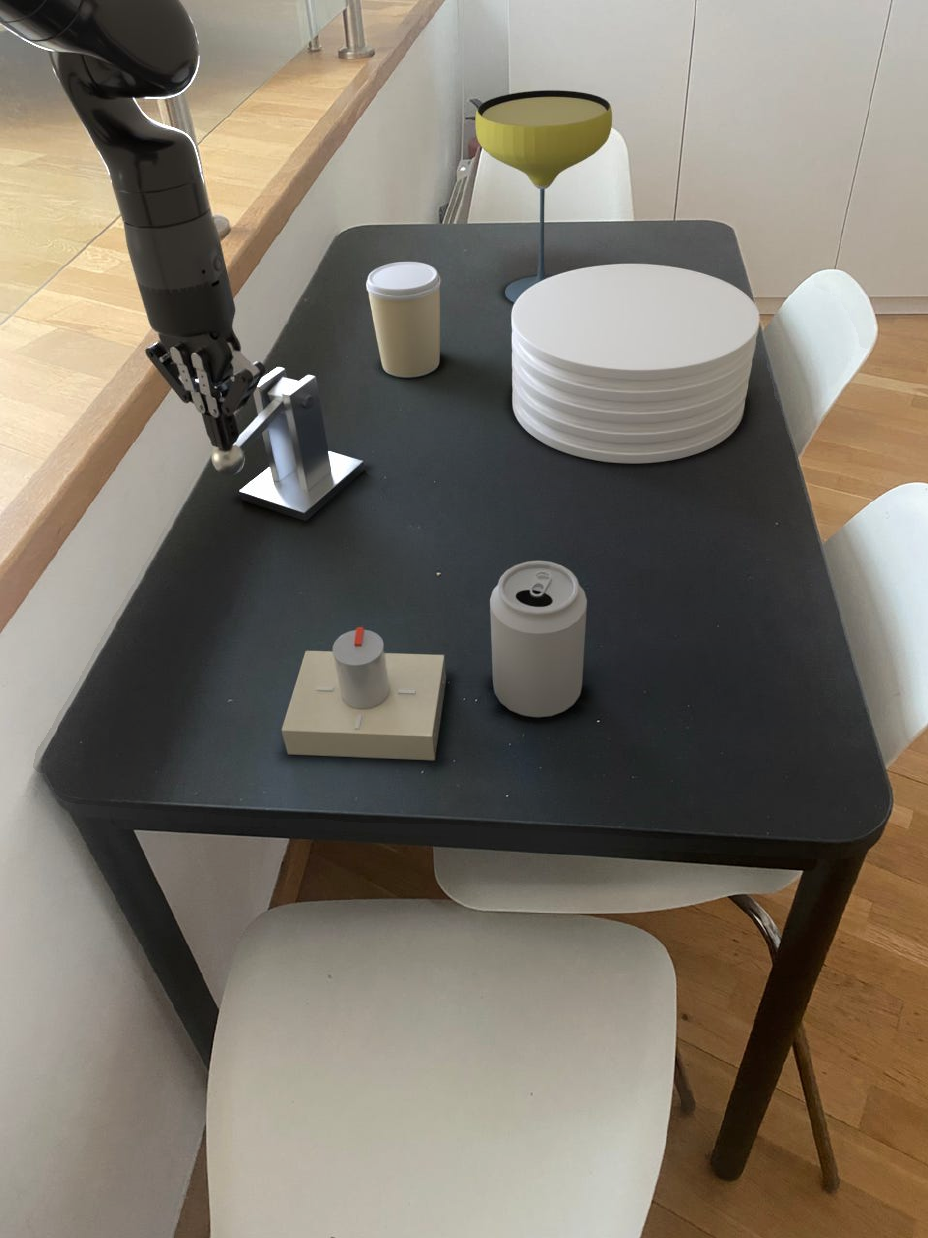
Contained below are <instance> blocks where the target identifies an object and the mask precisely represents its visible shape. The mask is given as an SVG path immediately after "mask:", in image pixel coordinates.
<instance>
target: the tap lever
mask: <svg viewBox="0 0 928 1238" xmlns="http://www.w3.org/2000/svg"><path fill="white" fill-rule="evenodd" d="M299 381H300V380H296V379H292V378H288V377H287V378H285V377H282V378H281V380H280V381H279V382H278V383H277V384H276V385H275V386H274V387H273V388H272V389H271V390H270V391H269V392H268V396H269V399H270V401H271V403H270V404H269V405H268V406H267V407H266V408H265V409H264V410H263V411H262V412H261V413H260V415H259V416H258V415H257V416H256V417H255V418H254V420H253V421H252V422H251V423H250V424H249V425H248V426H247V427H246V428H245V429H244V430H243V431H242V432H241V433H240V434H239V438H238V439H237V441H236V443H234V444H233V445H232V446H230V447H229V448H227V449H222V448H218V447H215V446H214V449H213V450H212V453H211V457H210V458H211V463H212V466H213V467H214V469H215V471H217V472H218V473H220V474H221V475H226V476H232V475H235V474H238V473H239V472H241V470H242V469H243V468H244V465H245V463H246V456H245V452H246V451H248V449H249V448H250V447H251V446H252V445H253V444H254V443H255V442H256V441H257V440H258V439H259V438H260V436H262V433H263V432H264V431H265V430H266V429H267V428H268V427H269V425H270V424H271V423H272V422H273V421H274V420H275V419H276V418H277V417H278V416H279V415H280V414H281V413H282V414H286V411H285V406H284V401H283V396H282V393H283V392H285V391H286V390H288V389H289V388H290V387H292V386H293V385H295V384H296V383H297V382H299Z"/></svg>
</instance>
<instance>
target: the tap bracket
mask: <svg viewBox="0 0 928 1238" xmlns="http://www.w3.org/2000/svg"><path fill="white" fill-rule="evenodd" d="M286 371H287V370H286V368H285V367H281V366H277V367H276V368H274V369H273V370H271V371H270V372H269V373H267V374H264V375H263V377H262V379H261V380H260V382H259V384H258V386H257V388H256V390H255V391H254V393H253V395H252V396H253V399H254V403H255V408H256V412H257V417H258V416H259V415H260V413H261V412H262V411H263V410H264V409H265V408H266V407H267V406H268V405H269V404H270V403H271V401H270V399H269V396H268V392H269V391H270V390H271V389H272V388H273V387H274V386H275V385H276V384H277V383H278V382H279V381H280V380H281V378H282V377H285V378H288V376H287V372H286ZM298 381H299V382H297V383H296V384H295V385H293V386H292V387H290V388H289V389H288V390H286V391H285V392H283V393H282V396H283V401H284V406H285V411H286V414H282V413H281V414H280V415H279V416H278V417H277V418H276V419H275V420H274V421H273V422H272V423H271V424H270V425H269V427H268V428H267V429H266V430H265V431H264V432H263V433H262V434H261V436H262V440H263V443H264V448H265V453H266V457H267V462H268V467H267V468H266V469H265V470H264V471H263V472H261V473H260V474H259V475H257V476H256V477H255V478H254V479H252V480H250V481H249V482H248V483H247V484H246V485H245V486H243V487H242V488H241V489H239V491H238V492H239V496H240V500H241V501H244V502H247V503H250V504H253V505H256V506H259V507H261V508H265V509H268V510H271V511H273V512H277V513H279V514H282V515H284V516H285V515H286V516H289V517H291V518H294V519H297V520H301V521H304V522H307V521H309V519H311V518H313V516H314V515H316V513H318V512H319V511H320V510H321V509H322V508H323V507H324V506H326V505H327V504H328V503H329V502H330V501H331V500H333V499H334V498H335V496H337V495H338V494H339V493H341V491H343V490H344V489H345V488H346V487H347V486H348V485H350V483H352V482H353V481H354V480H355V479H356V478H357V477H359V476H360V475H361V474H362V473H363V472H364V471H365V463H364V460H360V459H357V458H354V457H351V456H347V455H343V454H340V453H336V452H335V451H334V452H333V451H330V450H329V447H328V441H327V435H326V429H325V424H324V418H323V411H322V406H321V405H322V404H321V400H320V394H319V393H320V392H319V387H318V382H317V377H316V375H311V374H307V375H305V376H304V377H303V378H301V379H300V380H298Z"/></svg>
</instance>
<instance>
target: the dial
mask: <svg viewBox="0 0 928 1238" xmlns="http://www.w3.org/2000/svg"><path fill="white" fill-rule="evenodd" d="M332 651H333V657H334V662H335V667H336V672H337V677H338V682H339V687H340V692H341V696H342V699H343V700H344V702H345V703H346V704H348V705H349V706H351V707H354V708H359V709H367V708H372V707H375V706H377V705H379V704H381V703H382V702H383V701H384V700H385V699H386V698H387V696H388V695H389V692H390V684H389V678H388V671H387V664H386V657H385V653H386V651H385V644H384V641H383V638H382V637H381V636H380V635H379V634H378V633H377V632H374V631H372V630H370V629H369V630H368V629H365V627H364V626H357V627H356V629H354V630H350V631H347V632H345V633H343V634H341V635H340V636H338V637H337V639H336V640H335V641H334V643H333V645H332Z"/></svg>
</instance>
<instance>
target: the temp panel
mask: <svg viewBox="0 0 928 1238" xmlns="http://www.w3.org/2000/svg"><path fill="white" fill-rule="evenodd" d="M385 657H386V664H387V671H388V678H389V684H390V692H389V695H388V696H387V698H386V699H385V700H384V701H383V702H382V703H381V704H379V705H377V706H375V707H372V708H367V709H359V708H354V707H351V706H349V705H348V704H346V703H345V702H344V700H343V699H342V696H341V692H340V687H339V682H338V677H337V672H336V667H335V662H334V657H333V651H331V650H327V651H326V650H305V652H304V655H303V658H302V662H301V665H300V668H299V672H298V675H297V679H296V682H295V684H294V688H293V691H292V695H291V698H290V701H289V704H288V708H287V711H286V714H285V717H284V721H283V723H282V727H281V734H282V738H283V742H284V745H285V749H286V752H287V755H292V756H293V755H296V756H316V757H317V756H318V757H319V756H320V757H341V758H342V757H345V758H366V759H387V760H391V759H393V760H415V761H417V760H418V761H435V760H436V755H437V754H436V753H437V747H438V742H439V741H438V740H439V733H440V727H441V719H442V713H443V706H444V698H445V692H446V684H447V672H446V671H447V670H446V660H445V654H429V653H428V654H426V653H425V654H424V653H397V652H394V653H393V652H385Z"/></svg>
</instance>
